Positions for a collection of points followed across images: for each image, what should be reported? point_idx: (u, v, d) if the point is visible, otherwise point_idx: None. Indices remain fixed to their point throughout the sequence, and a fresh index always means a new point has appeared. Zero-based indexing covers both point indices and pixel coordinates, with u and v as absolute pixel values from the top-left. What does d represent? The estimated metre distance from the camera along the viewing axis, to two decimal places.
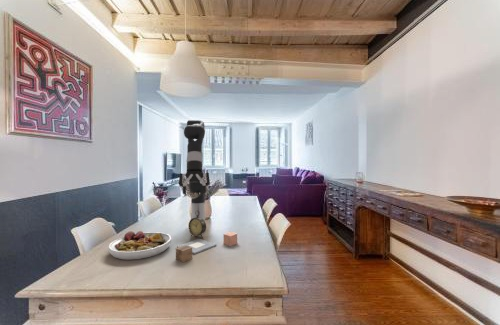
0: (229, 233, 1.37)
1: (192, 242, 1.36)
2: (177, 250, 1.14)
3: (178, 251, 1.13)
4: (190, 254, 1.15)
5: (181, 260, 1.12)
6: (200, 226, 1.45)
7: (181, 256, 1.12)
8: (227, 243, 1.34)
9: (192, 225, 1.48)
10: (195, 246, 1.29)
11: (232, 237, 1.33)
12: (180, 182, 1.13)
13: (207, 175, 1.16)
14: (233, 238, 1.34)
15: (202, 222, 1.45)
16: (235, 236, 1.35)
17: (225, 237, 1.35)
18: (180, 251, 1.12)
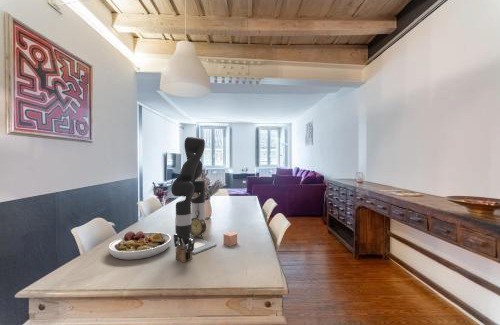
0: (229, 233, 1.37)
1: None
2: (177, 250, 1.14)
3: (178, 250, 1.13)
4: (190, 254, 1.15)
5: (181, 260, 1.12)
6: (200, 226, 1.45)
7: (181, 256, 1.12)
8: (227, 243, 1.34)
9: (192, 225, 1.48)
10: (195, 246, 1.29)
11: (232, 237, 1.33)
12: (175, 244, 1.18)
13: (189, 243, 1.11)
14: (233, 238, 1.34)
15: (202, 222, 1.45)
16: (235, 236, 1.35)
17: (225, 237, 1.35)
18: (180, 251, 1.12)
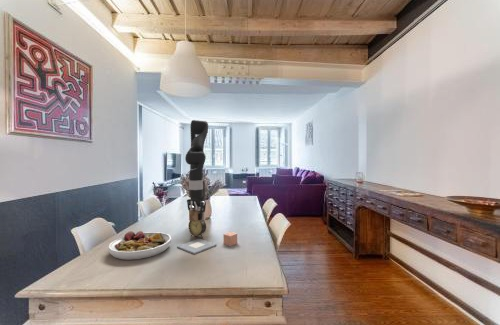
0: (229, 233, 1.37)
1: (192, 242, 1.36)
2: (190, 212, 1.30)
3: (192, 212, 1.29)
4: (202, 216, 1.31)
5: (194, 220, 1.28)
6: (200, 226, 1.45)
7: (194, 216, 1.28)
8: (227, 243, 1.34)
9: (192, 225, 1.48)
10: (195, 246, 1.29)
11: (232, 237, 1.33)
12: (188, 207, 1.33)
13: (201, 204, 1.26)
14: (233, 238, 1.34)
15: (202, 222, 1.45)
16: (235, 236, 1.35)
17: (225, 237, 1.35)
18: (193, 212, 1.28)
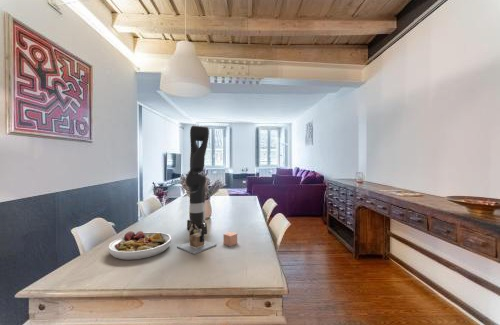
0: (229, 233, 1.37)
1: None
2: (191, 237, 1.30)
3: (192, 237, 1.29)
4: None
5: (195, 245, 1.28)
6: None
7: (195, 242, 1.28)
8: (227, 243, 1.34)
9: None
10: None
11: (232, 237, 1.33)
12: (187, 228, 1.34)
13: (202, 226, 1.26)
14: (233, 238, 1.34)
15: None
16: (235, 236, 1.35)
17: (225, 237, 1.35)
18: (194, 237, 1.28)
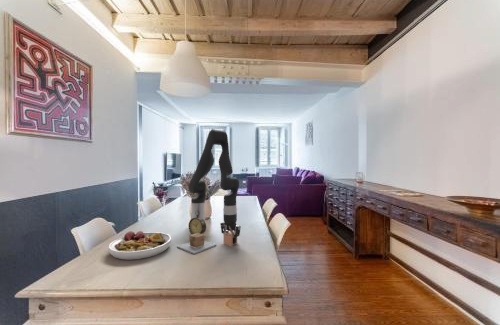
0: (229, 233, 1.37)
1: None
2: (191, 237, 1.30)
3: (192, 237, 1.29)
4: (203, 241, 1.31)
5: (195, 245, 1.28)
6: (200, 226, 1.45)
7: (195, 242, 1.28)
8: (227, 243, 1.34)
9: (192, 225, 1.48)
10: None
11: (232, 237, 1.33)
12: (222, 231, 1.38)
13: (236, 229, 1.31)
14: None
15: (202, 222, 1.45)
16: None
17: (225, 237, 1.34)
18: (194, 237, 1.28)
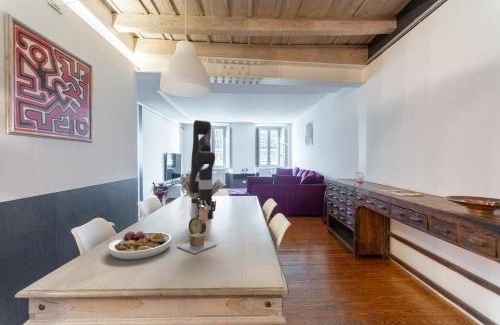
0: (205, 209, 1.33)
1: None
2: (191, 237, 1.30)
3: (192, 237, 1.29)
4: (203, 241, 1.31)
5: (195, 245, 1.28)
6: (200, 226, 1.45)
7: (195, 242, 1.28)
8: (202, 218, 1.30)
9: (192, 225, 1.48)
10: None
11: (207, 212, 1.30)
12: (198, 207, 1.34)
13: (211, 203, 1.28)
14: None
15: (202, 222, 1.45)
16: None
17: (200, 212, 1.31)
18: (194, 237, 1.28)
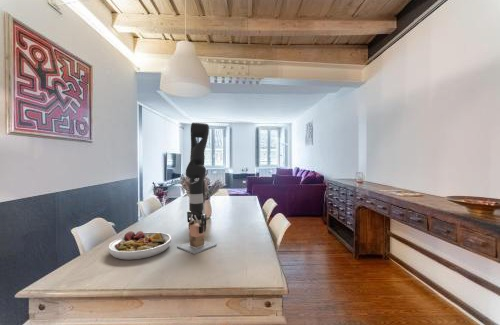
0: (195, 224, 1.32)
1: None
2: (191, 237, 1.30)
3: (192, 237, 1.29)
4: (203, 241, 1.31)
5: (195, 245, 1.28)
6: None
7: (195, 242, 1.28)
8: (193, 234, 1.29)
9: None
10: None
11: (198, 228, 1.28)
12: (188, 220, 1.34)
13: (202, 217, 1.26)
14: (198, 229, 1.29)
15: None
16: None
17: (191, 228, 1.30)
18: (194, 237, 1.28)
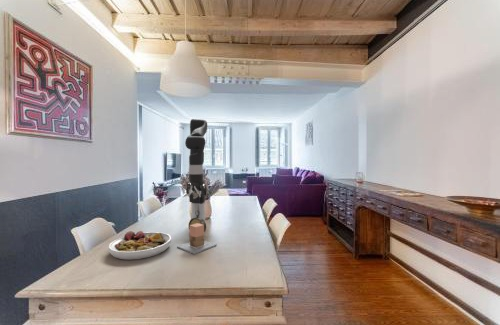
0: (195, 224, 1.32)
1: None
2: (191, 237, 1.30)
3: (192, 237, 1.29)
4: (203, 241, 1.31)
5: (195, 245, 1.28)
6: None
7: (195, 242, 1.28)
8: (193, 234, 1.29)
9: None
10: None
11: (198, 228, 1.28)
12: (187, 191, 1.34)
13: (201, 187, 1.26)
14: (198, 229, 1.29)
15: (202, 222, 1.45)
16: (201, 227, 1.30)
17: (191, 228, 1.30)
18: (194, 237, 1.28)
